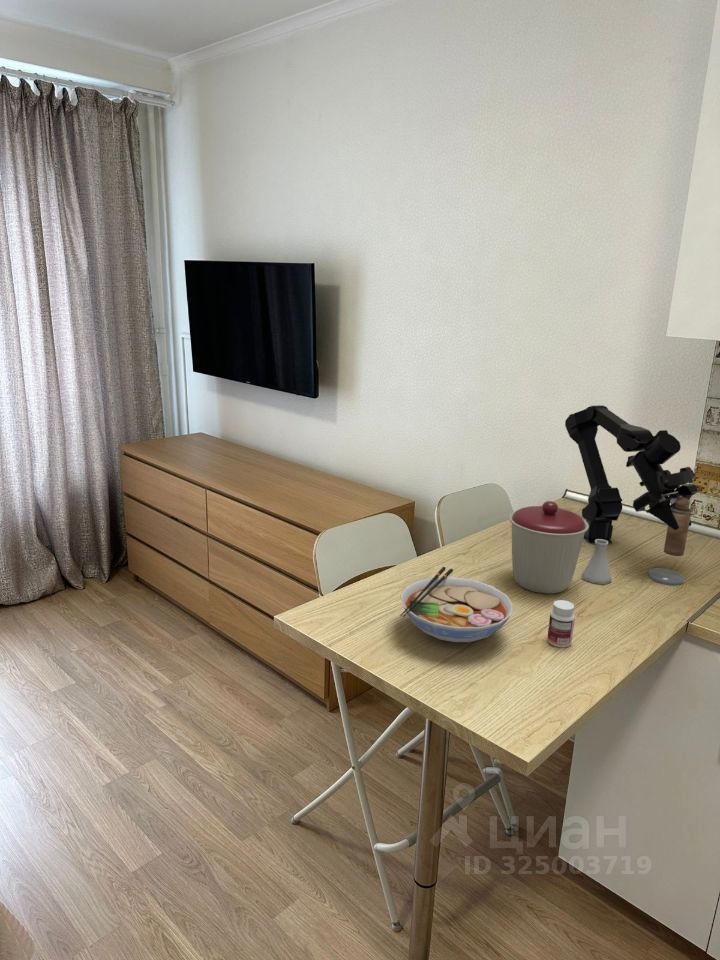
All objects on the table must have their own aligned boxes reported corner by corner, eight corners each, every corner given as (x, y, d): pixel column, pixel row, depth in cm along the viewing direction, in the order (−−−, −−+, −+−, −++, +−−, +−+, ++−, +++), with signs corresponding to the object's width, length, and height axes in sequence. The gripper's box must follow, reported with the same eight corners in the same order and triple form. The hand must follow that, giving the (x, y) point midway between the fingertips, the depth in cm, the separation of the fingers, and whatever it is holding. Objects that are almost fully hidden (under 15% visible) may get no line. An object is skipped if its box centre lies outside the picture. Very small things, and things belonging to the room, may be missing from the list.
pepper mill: (669, 556, 163) (678, 500, 159) (659, 549, 168) (669, 494, 164) (687, 556, 164) (697, 500, 160) (677, 549, 168) (687, 494, 164)
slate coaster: (657, 584, 163) (657, 581, 162) (643, 571, 170) (643, 567, 170) (689, 585, 163) (690, 581, 163) (673, 572, 170) (674, 568, 170)
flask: (606, 587, 160) (611, 549, 157) (576, 579, 164) (581, 541, 162) (615, 578, 166) (621, 540, 163) (586, 570, 170) (591, 533, 167)
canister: (550, 565, 172) (559, 487, 166) (596, 595, 156) (608, 510, 150) (488, 573, 166) (496, 493, 160) (530, 606, 150) (540, 517, 144)
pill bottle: (552, 633, 138) (557, 596, 136) (574, 641, 135) (580, 604, 133) (542, 642, 134) (547, 604, 132) (565, 650, 132) (570, 612, 129)
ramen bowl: (487, 678, 121) (491, 638, 119) (376, 644, 132) (378, 606, 129) (525, 622, 142) (529, 587, 140) (426, 596, 153) (429, 563, 150)
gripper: (650, 460, 158) (685, 518, 152) (698, 452, 167) (732, 507, 161) (618, 483, 166) (650, 539, 160) (665, 475, 176) (696, 527, 170)
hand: (683, 527), depth 163 cm, fingers closed on pepper mill, 5 cm apart
